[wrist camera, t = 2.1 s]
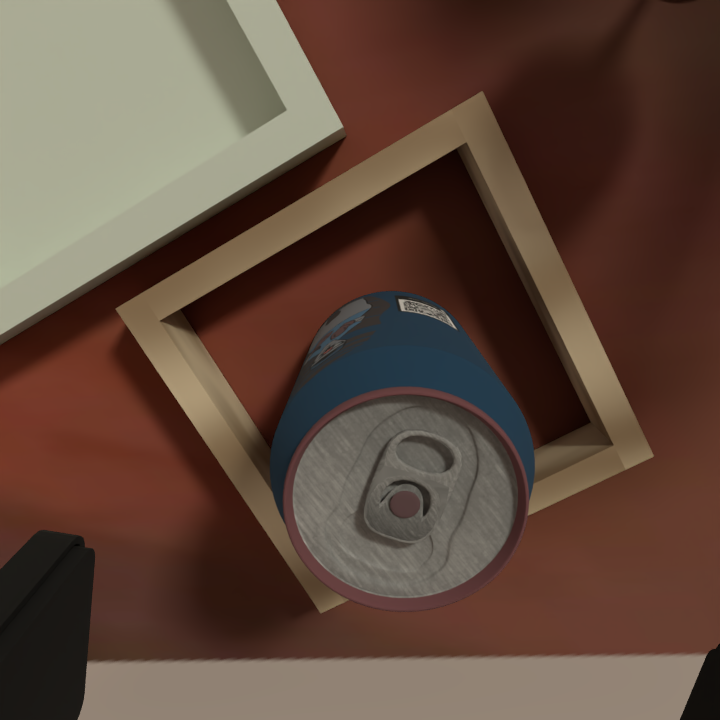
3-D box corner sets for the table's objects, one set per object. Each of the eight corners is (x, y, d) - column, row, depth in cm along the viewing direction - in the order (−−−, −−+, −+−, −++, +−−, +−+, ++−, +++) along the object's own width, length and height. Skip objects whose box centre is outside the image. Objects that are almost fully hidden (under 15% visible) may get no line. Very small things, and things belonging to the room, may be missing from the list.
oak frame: (627, 432, 26) (653, 456, 23) (325, 577, 28) (320, 613, 25) (470, 102, 22) (482, 90, 20) (140, 298, 24) (115, 308, 22)
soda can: (434, 461, 26) (486, 668, 15) (288, 412, 26) (220, 584, 14) (495, 319, 24) (608, 424, 13) (339, 262, 24) (309, 319, 12)
